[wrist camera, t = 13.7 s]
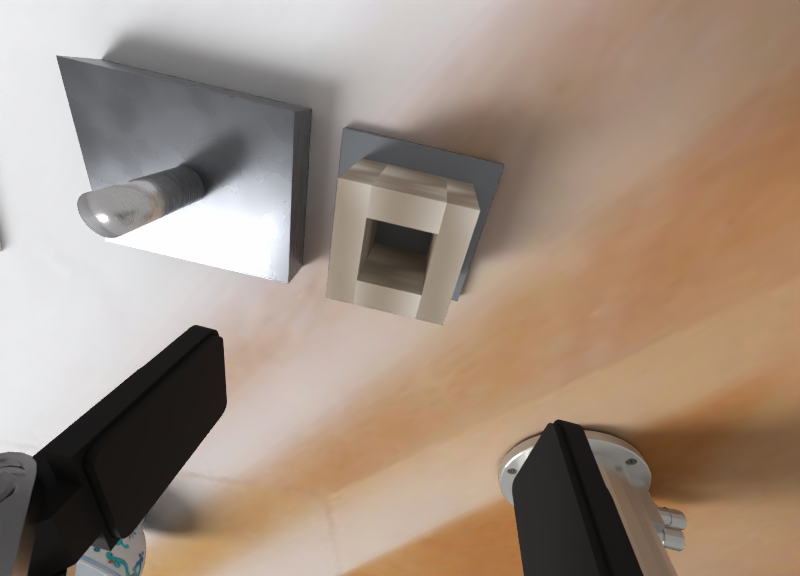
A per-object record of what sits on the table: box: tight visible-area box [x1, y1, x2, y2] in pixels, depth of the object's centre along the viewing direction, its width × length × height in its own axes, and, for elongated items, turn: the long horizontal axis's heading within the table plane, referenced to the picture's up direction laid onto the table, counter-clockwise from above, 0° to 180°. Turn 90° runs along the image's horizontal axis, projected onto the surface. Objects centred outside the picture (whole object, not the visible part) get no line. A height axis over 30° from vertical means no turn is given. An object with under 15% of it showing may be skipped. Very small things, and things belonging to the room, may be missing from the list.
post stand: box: [56, 56, 312, 284], centre depth 18 cm, size 12×10×8 cm
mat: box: [328, 127, 504, 301], centre depth 21 cm, size 9×9×1 cm
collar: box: [326, 158, 480, 325], centre depth 19 cm, size 6×6×5 cm
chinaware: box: [75, 517, 146, 576], centre depth 43 cm, size 15×15×8 cm
